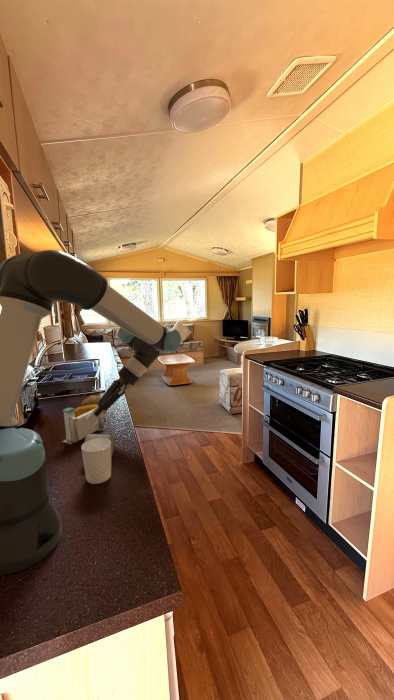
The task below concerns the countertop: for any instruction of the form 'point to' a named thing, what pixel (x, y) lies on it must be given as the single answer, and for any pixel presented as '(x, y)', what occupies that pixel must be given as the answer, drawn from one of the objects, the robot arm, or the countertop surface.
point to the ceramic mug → (95, 436)
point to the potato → (85, 410)
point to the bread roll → (90, 400)
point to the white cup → (97, 460)
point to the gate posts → (67, 415)
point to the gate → (82, 426)
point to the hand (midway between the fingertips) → (88, 421)
